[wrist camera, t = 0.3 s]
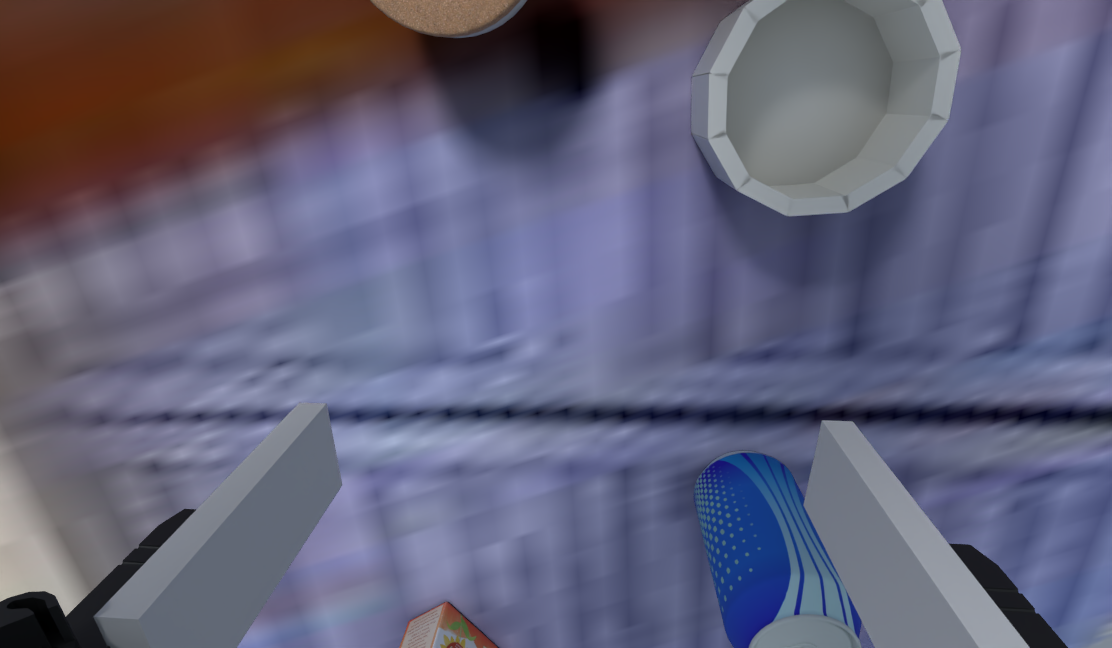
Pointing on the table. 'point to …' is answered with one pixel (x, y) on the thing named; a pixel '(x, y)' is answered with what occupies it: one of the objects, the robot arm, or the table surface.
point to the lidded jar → (450, 15)
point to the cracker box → (443, 631)
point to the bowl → (823, 98)
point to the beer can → (770, 558)
